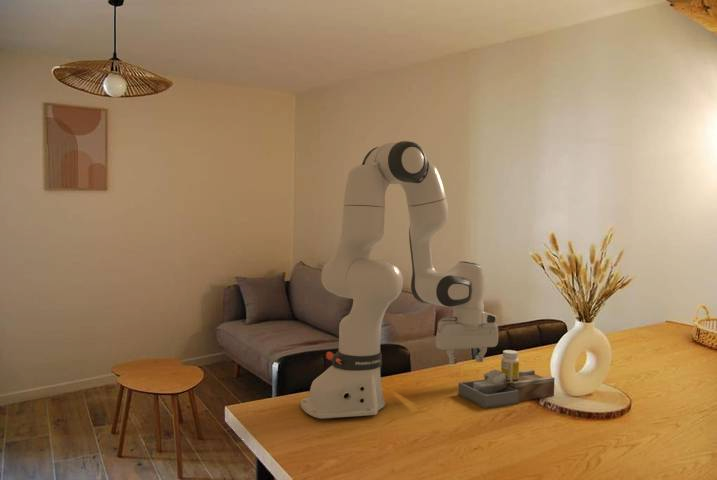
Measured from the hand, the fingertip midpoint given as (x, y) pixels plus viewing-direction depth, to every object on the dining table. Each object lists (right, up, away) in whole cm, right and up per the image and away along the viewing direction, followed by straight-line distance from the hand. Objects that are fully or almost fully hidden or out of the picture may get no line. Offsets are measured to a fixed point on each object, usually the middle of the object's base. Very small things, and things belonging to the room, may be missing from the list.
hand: (466, 362), depth 160 cm
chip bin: (+4, -7, -12) cm, 14 cm away
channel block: (+15, -7, -7) cm, 18 cm away
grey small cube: (+6, -4, -11) cm, 13 cm away
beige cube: (+4, -5, -12) cm, 13 cm away
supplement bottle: (+10, -3, -9) cm, 14 cm away
